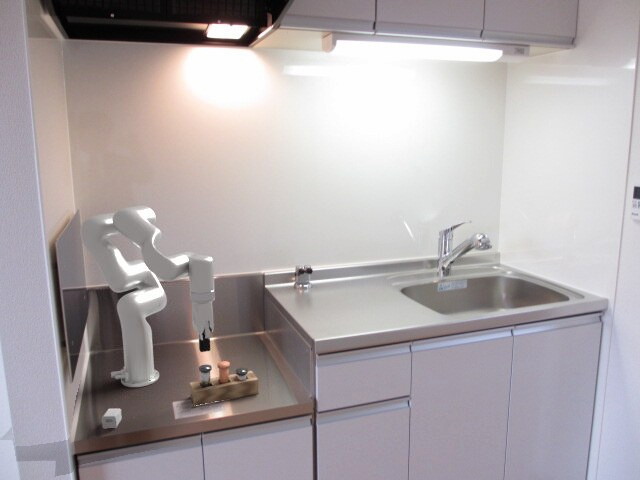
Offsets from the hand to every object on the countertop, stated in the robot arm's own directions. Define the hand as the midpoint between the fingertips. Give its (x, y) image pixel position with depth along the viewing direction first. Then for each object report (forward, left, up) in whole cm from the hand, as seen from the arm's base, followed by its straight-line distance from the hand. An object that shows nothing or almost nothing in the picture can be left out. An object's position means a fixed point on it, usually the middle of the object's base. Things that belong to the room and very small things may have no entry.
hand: (204, 350), depth 163 cm
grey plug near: (0, 0, -12) cm, 12 cm away
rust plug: (+6, 0, -13) cm, 14 cm away
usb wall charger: (-28, -2, -17) cm, 33 cm away
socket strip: (+6, 0, -17) cm, 18 cm away
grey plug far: (+12, 0, -16) cm, 20 cm away
